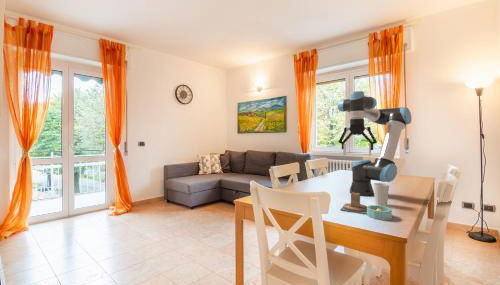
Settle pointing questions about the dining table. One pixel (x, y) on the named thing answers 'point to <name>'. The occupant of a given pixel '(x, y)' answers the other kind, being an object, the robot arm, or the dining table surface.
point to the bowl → (379, 212)
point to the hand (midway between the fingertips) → (357, 155)
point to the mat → (353, 211)
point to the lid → (355, 203)
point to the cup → (381, 194)
